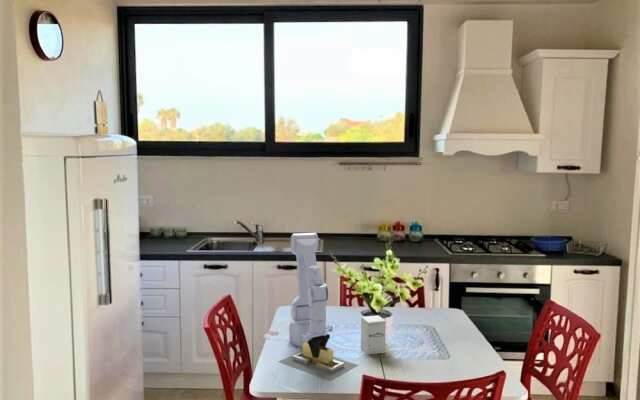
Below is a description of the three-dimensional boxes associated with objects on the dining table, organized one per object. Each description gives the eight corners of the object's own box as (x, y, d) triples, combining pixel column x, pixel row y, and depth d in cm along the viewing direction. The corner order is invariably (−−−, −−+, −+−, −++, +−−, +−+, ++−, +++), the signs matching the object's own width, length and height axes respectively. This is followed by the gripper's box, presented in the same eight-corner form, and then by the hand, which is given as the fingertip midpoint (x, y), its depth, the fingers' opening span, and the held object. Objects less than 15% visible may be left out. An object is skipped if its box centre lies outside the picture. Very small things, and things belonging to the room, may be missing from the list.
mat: (278, 362, 185) (278, 361, 185) (307, 349, 197) (307, 348, 197) (330, 382, 169) (330, 380, 169) (358, 366, 182) (358, 365, 182)
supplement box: (367, 355, 191) (367, 322, 190) (360, 348, 198) (360, 316, 197) (385, 353, 193) (386, 320, 192) (378, 346, 200) (378, 314, 199)
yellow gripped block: (302, 359, 186) (302, 343, 185) (307, 357, 188) (307, 341, 187) (328, 368, 178) (328, 351, 178) (333, 365, 180) (333, 349, 180)
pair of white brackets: (292, 359, 186) (292, 355, 186) (305, 353, 192) (305, 349, 191) (331, 373, 175) (331, 369, 174) (344, 366, 180) (344, 362, 180)
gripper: (313, 326, 173) (313, 365, 175) (339, 315, 184) (339, 352, 186) (297, 322, 178) (297, 359, 179) (324, 311, 189) (324, 347, 190)
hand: (317, 355), depth 183 cm, fingers closed on yellow gripped block, 3 cm apart
